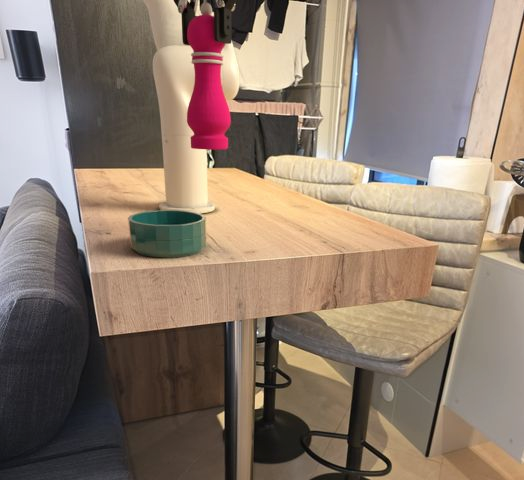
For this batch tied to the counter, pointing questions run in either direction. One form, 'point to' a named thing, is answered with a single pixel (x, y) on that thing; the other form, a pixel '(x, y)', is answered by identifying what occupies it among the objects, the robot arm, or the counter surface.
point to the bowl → (167, 233)
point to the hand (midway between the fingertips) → (206, 42)
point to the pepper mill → (207, 85)
